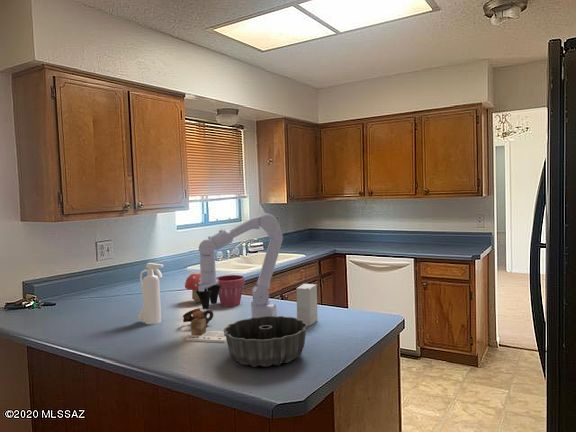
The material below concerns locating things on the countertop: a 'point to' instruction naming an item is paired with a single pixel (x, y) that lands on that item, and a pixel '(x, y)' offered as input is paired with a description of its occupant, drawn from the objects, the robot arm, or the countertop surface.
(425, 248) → the countertop surface
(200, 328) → the walnut block
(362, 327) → the countertop surface
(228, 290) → the plant pot
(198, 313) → the pottery mug
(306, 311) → the skincare box
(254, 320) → the bundt pan
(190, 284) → the decorative mushroom
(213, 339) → the board
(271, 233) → the robot arm
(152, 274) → the fire extinguisher
